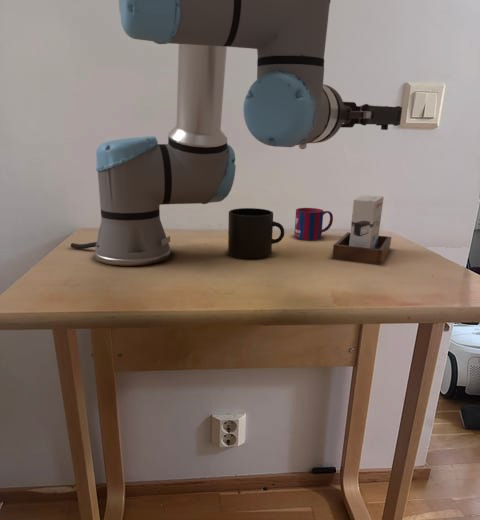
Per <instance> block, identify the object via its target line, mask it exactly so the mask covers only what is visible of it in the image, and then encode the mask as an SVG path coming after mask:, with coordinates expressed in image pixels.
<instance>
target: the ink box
mask: <svg viewBox="0 0 480 520" xmlns="http://www.w3.org/2000/svg"><path fill="white" fill-rule="evenodd" d="M383 204H384V196H383V195H364V194H362V195H360V196H359V197H357V198H354V199H353V203H352V213H351V224H350V242H349V246H354V247H363V248H372V249H377V243H378V236H380V227H381V221H382V214H383V213H382V212H383Z"/></svg>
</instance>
